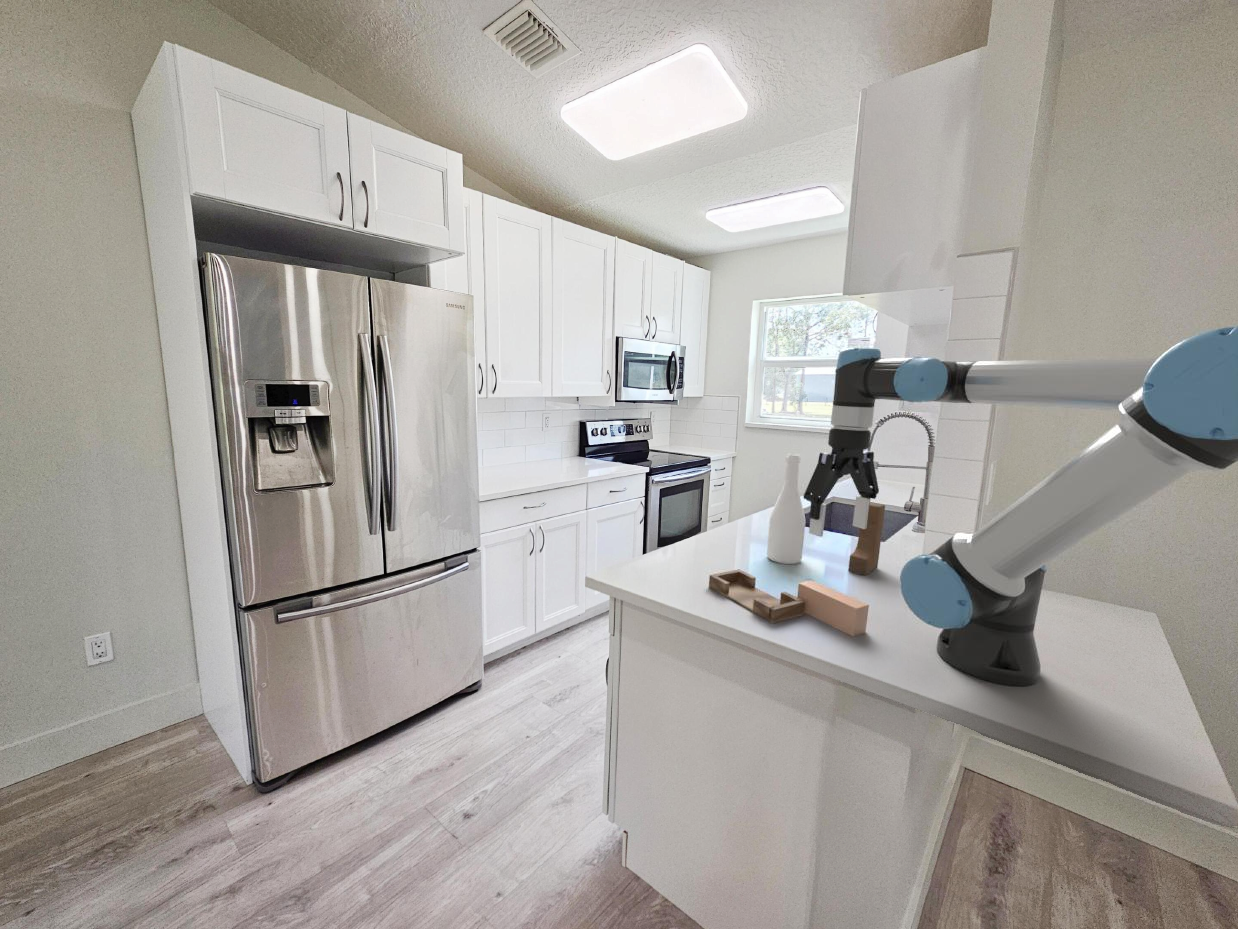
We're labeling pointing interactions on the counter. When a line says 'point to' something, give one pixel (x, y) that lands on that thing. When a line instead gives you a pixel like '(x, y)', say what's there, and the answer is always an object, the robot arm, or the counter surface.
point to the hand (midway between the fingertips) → (838, 531)
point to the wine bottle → (787, 519)
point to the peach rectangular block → (834, 607)
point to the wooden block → (868, 542)
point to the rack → (756, 596)
